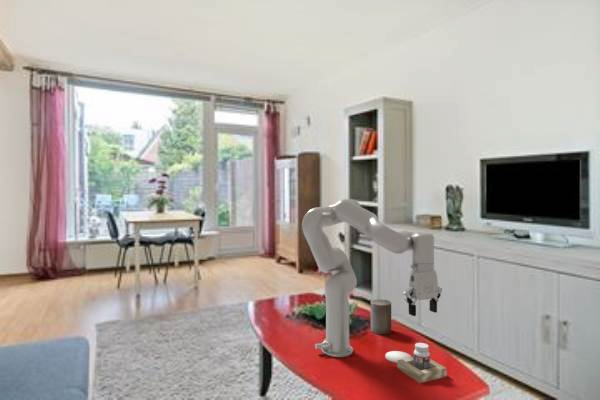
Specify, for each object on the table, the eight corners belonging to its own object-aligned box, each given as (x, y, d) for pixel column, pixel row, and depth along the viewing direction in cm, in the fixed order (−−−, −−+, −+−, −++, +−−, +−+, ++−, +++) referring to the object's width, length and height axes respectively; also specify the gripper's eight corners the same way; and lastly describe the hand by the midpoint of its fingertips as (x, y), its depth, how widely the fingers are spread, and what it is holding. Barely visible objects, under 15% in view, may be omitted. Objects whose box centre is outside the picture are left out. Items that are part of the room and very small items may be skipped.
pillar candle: (395, 330, 179) (395, 299, 179) (384, 336, 172) (384, 303, 172) (377, 326, 186) (377, 295, 186) (366, 331, 179) (366, 299, 179)
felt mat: (396, 365, 143) (396, 363, 143) (380, 354, 152) (380, 353, 152) (417, 360, 147) (417, 359, 147) (400, 350, 156) (400, 349, 156)
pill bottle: (427, 377, 134) (427, 349, 134) (411, 373, 137) (411, 346, 137) (431, 371, 139) (431, 344, 139) (415, 367, 142) (415, 340, 142)
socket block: (419, 383, 130) (419, 374, 130) (397, 368, 141) (397, 360, 141) (446, 376, 135) (446, 368, 135) (422, 362, 146) (422, 354, 146)
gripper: (410, 270, 132) (410, 319, 132) (448, 266, 139) (448, 313, 139) (397, 266, 139) (397, 313, 139) (434, 263, 146) (433, 307, 146)
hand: (422, 313), depth 139 cm, fingers open, 9 cm apart
